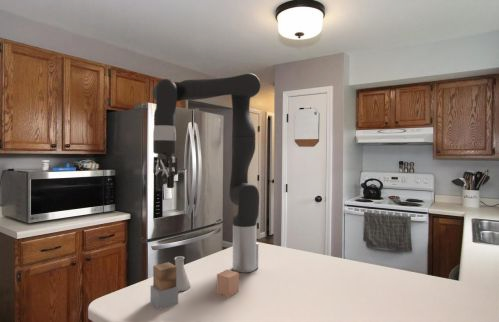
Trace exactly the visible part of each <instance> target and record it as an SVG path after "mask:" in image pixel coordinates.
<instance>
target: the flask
mask: <svg viewBox="0 0 499 322" xmlns="http://www.w3.org/2000/svg"><path fill="white" fill-rule="evenodd" d="M174 261H175V264H174V265H175V266H176V286H177V287H178V292H185V291H186V290H189V289H190V287H191V281H190V279H189V277H188V275H187V271H186V269H185V264H184V261H185V256H181V255H179V256H175V257H174Z"/></svg>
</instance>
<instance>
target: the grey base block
mask: <svg viewBox="0 0 499 322" xmlns="http://www.w3.org/2000/svg"><path fill="white" fill-rule="evenodd" d="M150 303H151V304H152V305H153V306H154V307H155V308H156V309H158V310H162V309H164V308H167V307H172V306H173V305H174V306H175V305H177V304H179V291H178V287H177V286H176V287H173V288H170V289H167V290H163V291H159V290H158V289H157V288H156V287H154V286H153V284H151V285H150Z"/></svg>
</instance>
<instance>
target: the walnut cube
mask: <svg viewBox="0 0 499 322" xmlns="http://www.w3.org/2000/svg"><path fill="white" fill-rule="evenodd" d="M152 269H153V273H152V274H153V275H152V276H153V281H152V285H153V286H154V287H156V288H157V289H158V290H159V291H163V290H167V289H170V288H173V287H176V266H175V264H173V263H171V262H169V261H168V262H164V263H160V264H159V263H158V264H155V265H153V266H152Z"/></svg>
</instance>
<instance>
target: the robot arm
mask: <svg viewBox="0 0 499 322" xmlns="http://www.w3.org/2000/svg"><path fill="white" fill-rule="evenodd" d="M261 86H262V85H261V81H260V78H259V77H258V76H257V75H256V74H254V73H251V72H246V73H243V74H239V75H236V76H229V77H220V78H201V79H200V78H197V79H195V78H194V79H185V80H182V81H179V82H174V81H173V80H172V79H168V78H164V79H161V80H159V81H158V82H157V83H156V84H155V85H154V86H153V88H152V96H153V97H152V98H154V100H155V102H156V105H155V106H156V107H155V110H154V115H153V135H152V137H153V140H152V141H153V142H152V144H153V147H152V149H153V150H152V151H153V154H157V156H153V167H152V168H153V174H155V176H156V180H155V181H156V184H155V186H156V187H164V173H165V175H166V188H167V189H173V188H174V187H175V176H177V175H178V157H177V156H173V155H174V154H175V155H176V153H177V131H176V109H177V102H180V101H194V100H205V99H212V98H217V97H221V96H229V95H231V104H232V107H231V108H232V109H231V110H232V118H231V119H232V122H231V124H232V128H231V131H232V132H231V171H230V172H231V173H230V183H229V189H228V191H229V192H228V195H229V199H230V201H231V203H232V204H233V205H235V206H237V207H238V208H237V214H236V215H234V216H233V218H232V271H234V272H238V273H251V272H254V271H256V270H257V269H258V268H259V243H258V242H257V221H258V218H259V214H260V213H259V211H260V193H259V189H258V187H257V186H256V185H254V184H253V183H248V180H249V178H248V177H249V176H248V174H249V167H250V166H251V165H250V164H251V163H252V160H253V157H254V154H255V151H256V129H255V126H254V123H253V121H252V118H251V113H250V106H251V105H250V100H251V98H254V97H255V96H256V95H257V94H258V93H259V92H260V90H261Z"/></svg>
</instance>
